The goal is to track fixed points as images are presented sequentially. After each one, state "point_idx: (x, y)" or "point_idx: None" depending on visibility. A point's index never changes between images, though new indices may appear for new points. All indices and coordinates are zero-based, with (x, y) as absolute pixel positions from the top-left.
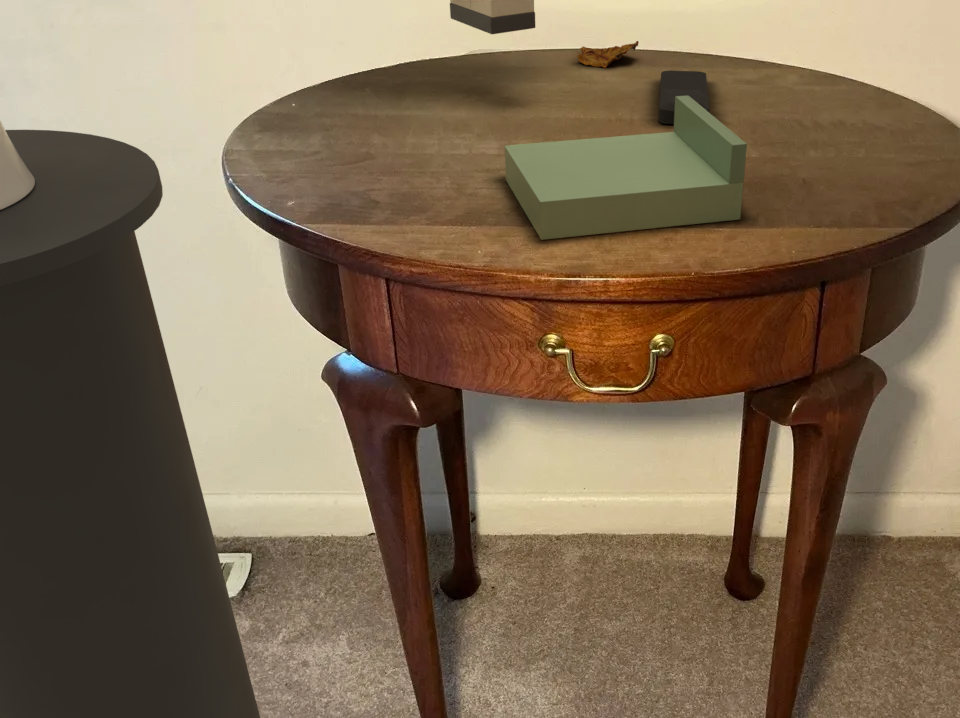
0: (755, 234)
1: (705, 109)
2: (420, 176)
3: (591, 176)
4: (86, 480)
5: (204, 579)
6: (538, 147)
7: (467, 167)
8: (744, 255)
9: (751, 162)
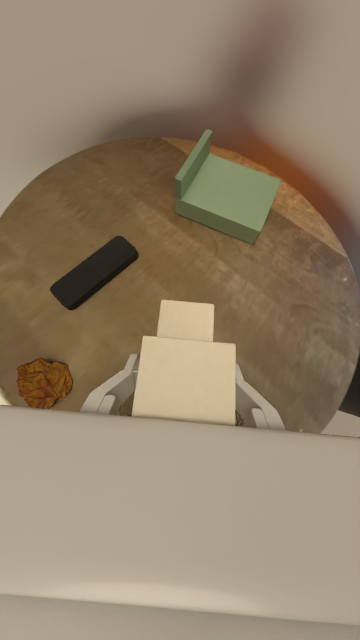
0: None
1: (118, 236)
2: (282, 271)
3: (249, 185)
4: None
5: None
6: (248, 220)
7: (257, 267)
8: (221, 154)
9: (149, 199)
